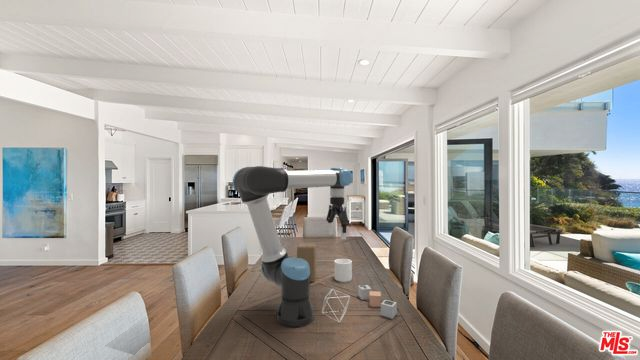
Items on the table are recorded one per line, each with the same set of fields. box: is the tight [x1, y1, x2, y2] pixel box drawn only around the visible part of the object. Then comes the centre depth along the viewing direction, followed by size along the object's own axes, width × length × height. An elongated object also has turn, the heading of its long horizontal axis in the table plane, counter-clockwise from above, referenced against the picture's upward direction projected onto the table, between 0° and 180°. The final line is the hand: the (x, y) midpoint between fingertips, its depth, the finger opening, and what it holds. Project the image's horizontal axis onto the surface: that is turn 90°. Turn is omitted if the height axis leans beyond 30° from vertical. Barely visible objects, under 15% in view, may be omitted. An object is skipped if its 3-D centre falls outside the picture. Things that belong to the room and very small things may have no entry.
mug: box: [334, 258, 353, 283], centre depth 161 cm, size 13×10×10 cm
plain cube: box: [369, 290, 382, 308], centre depth 127 cm, size 5×5×5 cm
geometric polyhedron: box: [321, 288, 351, 323], centre depth 117 cm, size 12×11×9 cm
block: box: [296, 242, 317, 283], centre depth 159 cm, size 10×10×20 cm
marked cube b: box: [357, 284, 372, 301], centre depth 135 cm, size 5×5×5 cm
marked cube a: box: [380, 299, 398, 320], centre depth 117 cm, size 5×5×5 cm
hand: (336, 236), depth 147 cm, fingers open, 13 cm apart
